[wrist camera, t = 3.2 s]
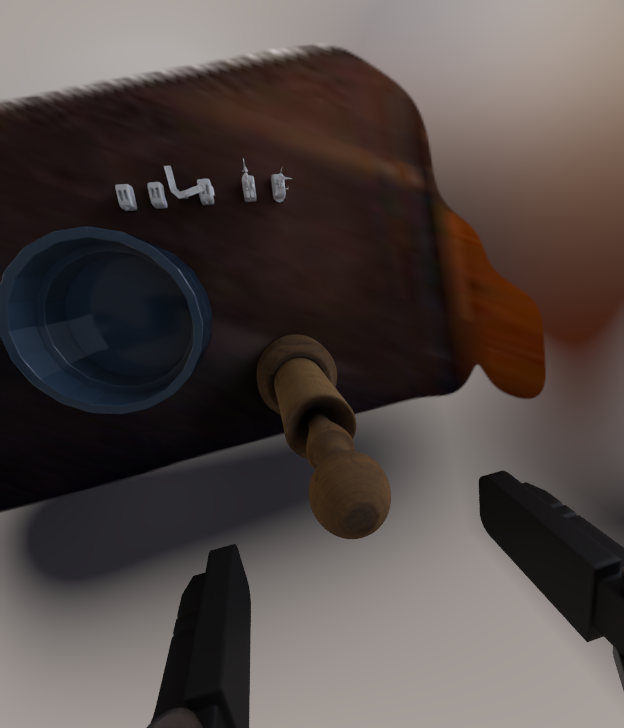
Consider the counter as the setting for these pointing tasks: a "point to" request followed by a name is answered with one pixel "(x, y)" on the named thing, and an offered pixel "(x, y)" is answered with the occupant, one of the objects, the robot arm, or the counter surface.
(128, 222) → the counter surface
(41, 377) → the blue bowl
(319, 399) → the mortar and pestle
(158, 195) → the figurines set
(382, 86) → the counter surface
